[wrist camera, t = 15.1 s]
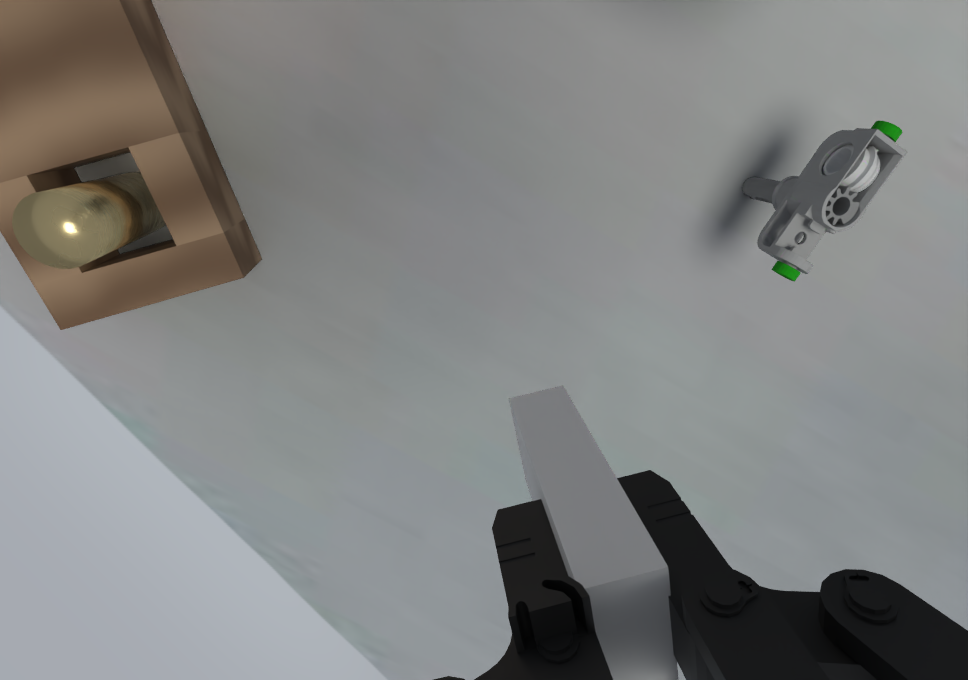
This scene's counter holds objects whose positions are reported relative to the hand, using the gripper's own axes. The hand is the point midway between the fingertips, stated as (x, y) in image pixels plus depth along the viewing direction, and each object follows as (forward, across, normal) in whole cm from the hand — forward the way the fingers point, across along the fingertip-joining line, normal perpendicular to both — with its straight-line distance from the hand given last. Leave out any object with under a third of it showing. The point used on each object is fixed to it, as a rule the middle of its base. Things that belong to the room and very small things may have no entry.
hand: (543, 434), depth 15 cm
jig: (+29, -21, +11) cm, 37 cm away
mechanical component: (+29, +23, -2) cm, 37 cm away
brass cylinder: (+29, -21, +7) cm, 36 cm away
